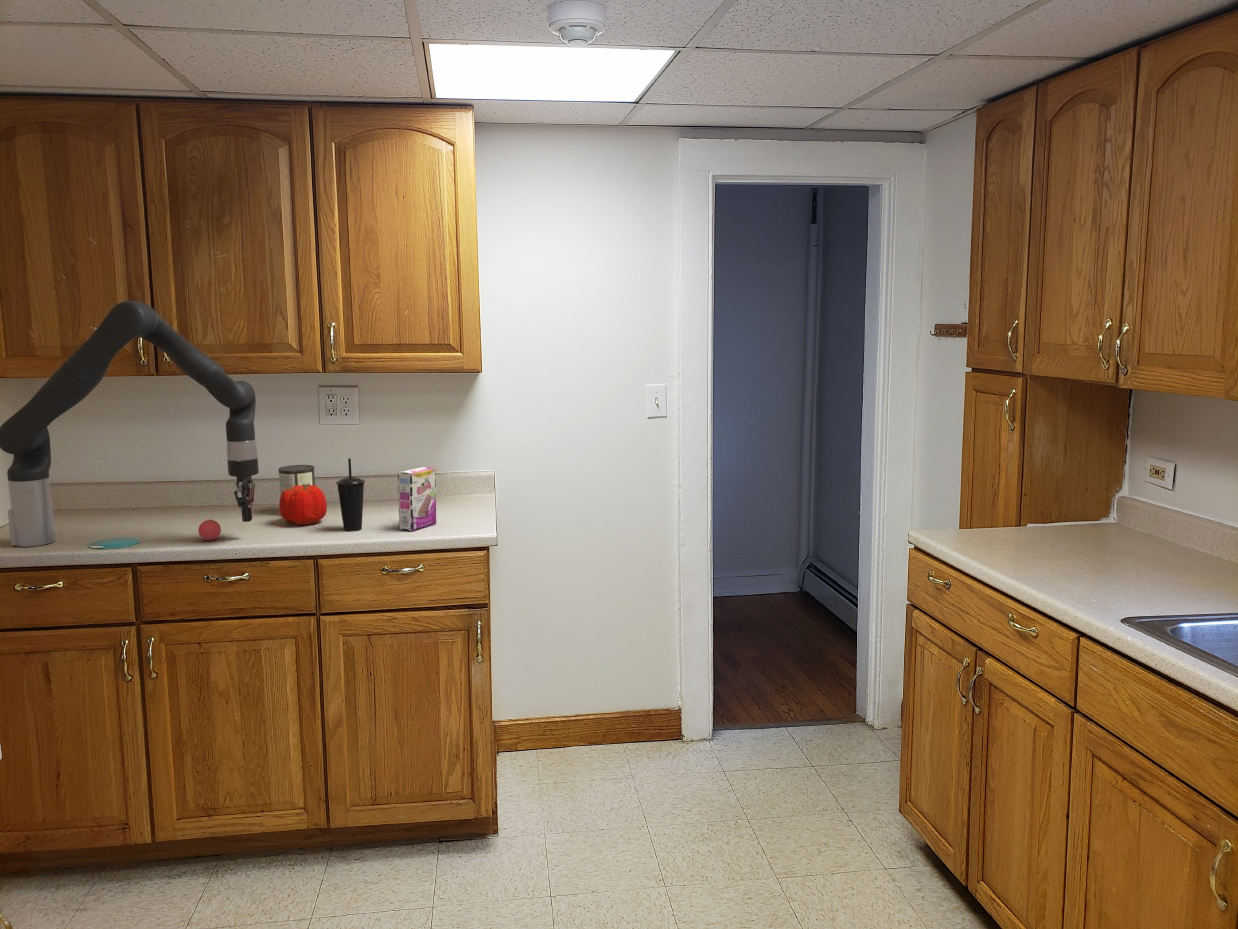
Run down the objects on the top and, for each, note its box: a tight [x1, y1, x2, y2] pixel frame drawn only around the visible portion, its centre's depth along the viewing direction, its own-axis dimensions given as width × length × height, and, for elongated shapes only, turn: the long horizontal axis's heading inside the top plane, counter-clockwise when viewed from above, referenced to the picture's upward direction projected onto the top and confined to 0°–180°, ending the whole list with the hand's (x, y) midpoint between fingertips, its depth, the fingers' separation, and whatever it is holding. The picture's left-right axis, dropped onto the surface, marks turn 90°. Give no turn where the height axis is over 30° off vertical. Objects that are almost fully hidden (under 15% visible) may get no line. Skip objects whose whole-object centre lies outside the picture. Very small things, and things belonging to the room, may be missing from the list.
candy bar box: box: [397, 466, 437, 532], centre depth 266 cm, size 11×5×16 cm, turn 154°
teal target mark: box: [88, 537, 141, 550], centre depth 249 cm, size 12×12×1 cm
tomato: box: [278, 485, 328, 526], centre depth 272 cm, size 14×13×10 cm
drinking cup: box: [335, 457, 366, 532], centre depth 263 cm, size 8×8×20 cm
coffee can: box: [278, 464, 316, 496], centre depth 285 cm, size 10×10×14 cm
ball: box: [197, 519, 222, 541], centre depth 252 cm, size 6×6×6 cm
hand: (247, 521), depth 253 cm, fingers closed
